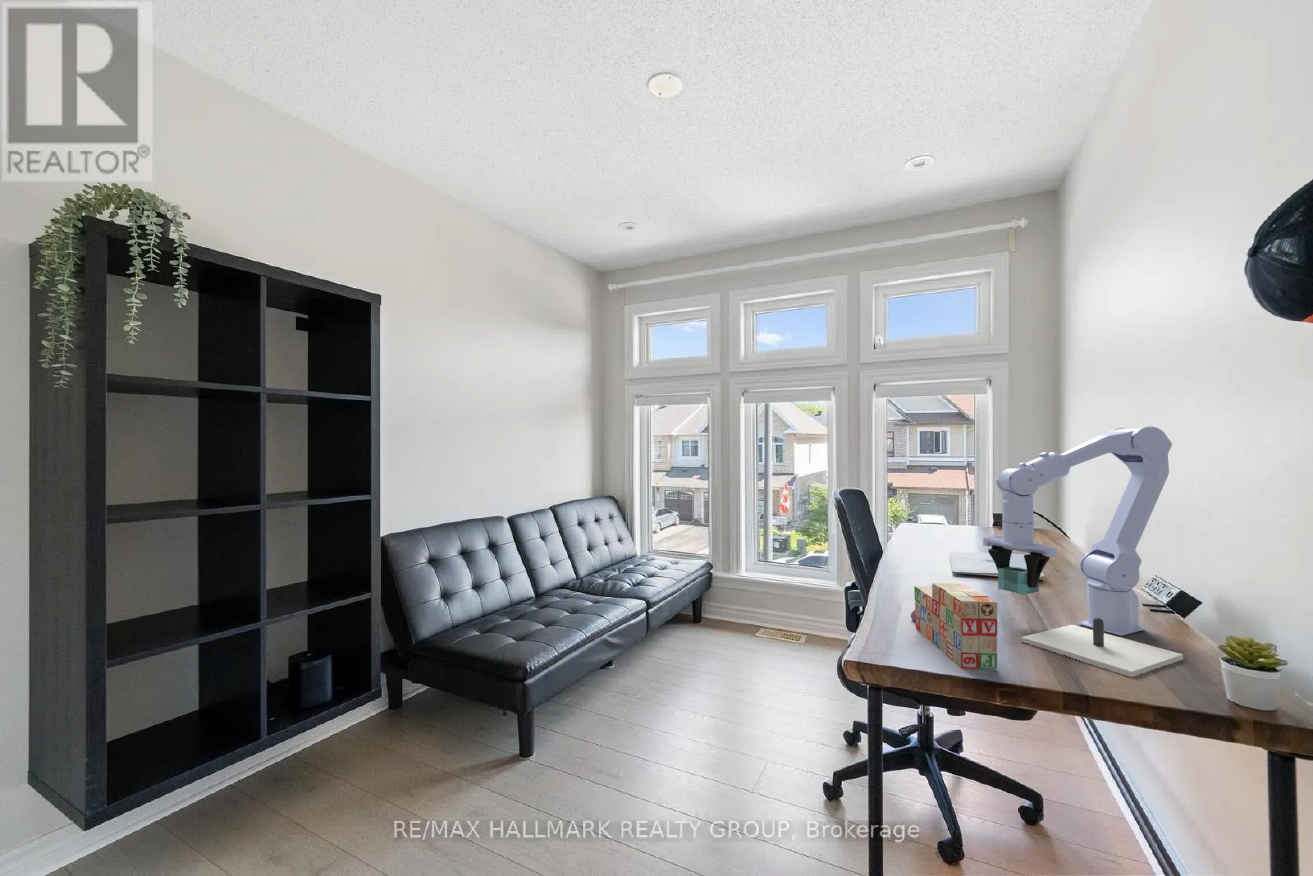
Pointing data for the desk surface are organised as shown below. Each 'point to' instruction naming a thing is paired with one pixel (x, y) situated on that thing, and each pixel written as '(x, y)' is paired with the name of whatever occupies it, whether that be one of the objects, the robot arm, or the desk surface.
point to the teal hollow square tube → (1015, 580)
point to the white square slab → (1103, 649)
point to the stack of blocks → (959, 623)
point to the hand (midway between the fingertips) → (1018, 583)
